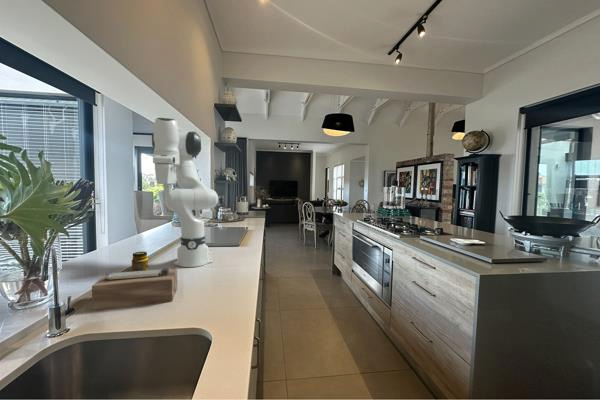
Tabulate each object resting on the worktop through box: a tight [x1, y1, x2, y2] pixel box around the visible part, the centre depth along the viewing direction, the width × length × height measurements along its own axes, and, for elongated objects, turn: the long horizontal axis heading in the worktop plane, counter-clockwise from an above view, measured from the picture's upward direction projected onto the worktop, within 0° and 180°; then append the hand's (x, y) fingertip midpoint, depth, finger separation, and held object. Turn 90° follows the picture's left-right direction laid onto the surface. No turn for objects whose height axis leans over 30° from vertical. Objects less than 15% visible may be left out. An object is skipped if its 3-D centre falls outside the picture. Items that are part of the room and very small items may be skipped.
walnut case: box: [91, 267, 178, 310], centre depth 97 cm, size 12×24×10 cm, turn 107°
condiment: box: [131, 251, 149, 272], centre depth 113 cm, size 7×8×12 cm
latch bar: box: [105, 269, 162, 280], centre depth 96 cm, size 4×17×1 cm, turn 107°
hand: (167, 195), depth 104 cm, fingers closed
